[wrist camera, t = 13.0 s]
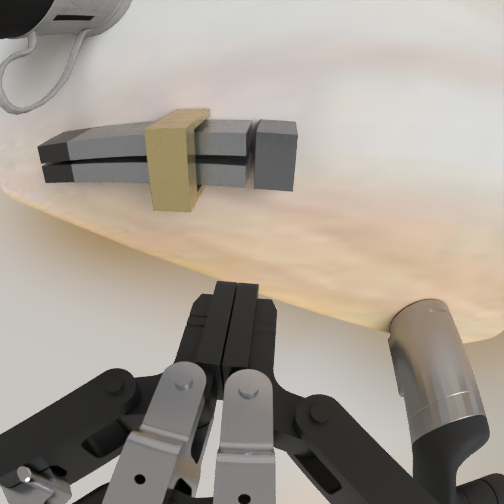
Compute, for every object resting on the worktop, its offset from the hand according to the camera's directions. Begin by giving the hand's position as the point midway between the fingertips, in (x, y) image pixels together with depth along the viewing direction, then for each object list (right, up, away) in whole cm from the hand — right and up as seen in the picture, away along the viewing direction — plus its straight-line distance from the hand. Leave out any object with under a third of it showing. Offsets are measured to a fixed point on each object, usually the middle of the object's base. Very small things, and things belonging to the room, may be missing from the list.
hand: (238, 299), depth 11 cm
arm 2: (-9, +11, +16) cm, 22 cm away
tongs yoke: (+3, +11, +15) cm, 19 cm away
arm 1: (-9, +13, +15) cm, 22 cm away
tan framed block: (-5, +12, +15) cm, 19 cm away
